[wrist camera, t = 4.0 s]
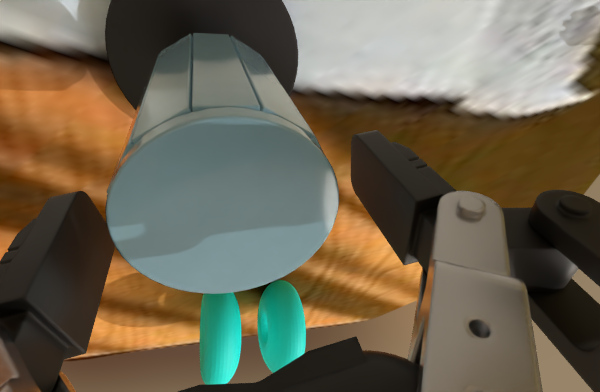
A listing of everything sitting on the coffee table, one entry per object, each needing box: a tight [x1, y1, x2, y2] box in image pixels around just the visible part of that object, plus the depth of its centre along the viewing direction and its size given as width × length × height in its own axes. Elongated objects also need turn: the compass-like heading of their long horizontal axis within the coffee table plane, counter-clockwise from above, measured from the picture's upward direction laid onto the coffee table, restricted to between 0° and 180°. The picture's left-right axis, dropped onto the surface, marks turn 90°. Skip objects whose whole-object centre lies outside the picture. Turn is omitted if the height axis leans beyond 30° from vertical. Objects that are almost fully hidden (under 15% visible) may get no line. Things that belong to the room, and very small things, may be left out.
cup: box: [106, 33, 339, 294], centre depth 12 cm, size 6×6×9 cm
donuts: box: [200, 280, 306, 385], centre depth 34 cm, size 10×10×10 cm
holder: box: [105, 0, 298, 110], centre depth 15 cm, size 12×12×17 cm
